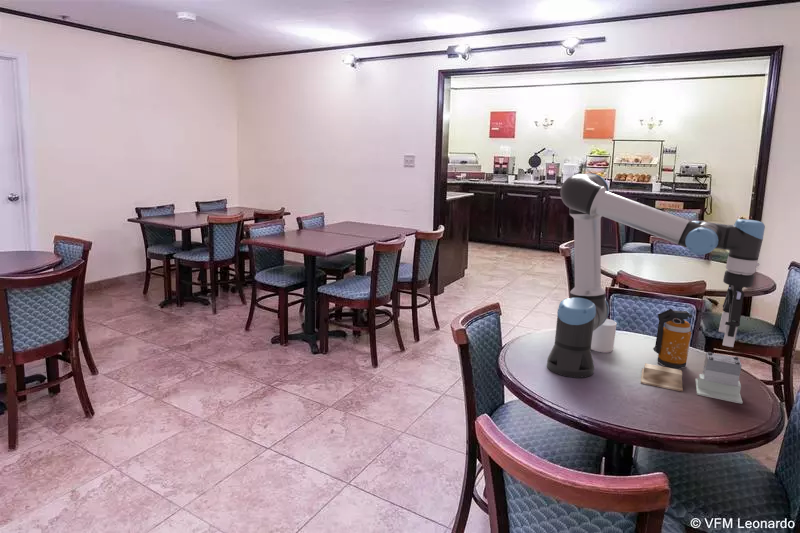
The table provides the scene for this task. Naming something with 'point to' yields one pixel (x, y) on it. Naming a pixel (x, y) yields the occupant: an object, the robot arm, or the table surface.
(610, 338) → the mug
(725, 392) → the stand
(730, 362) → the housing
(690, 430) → the table surface
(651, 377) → the stand
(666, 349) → the canister
